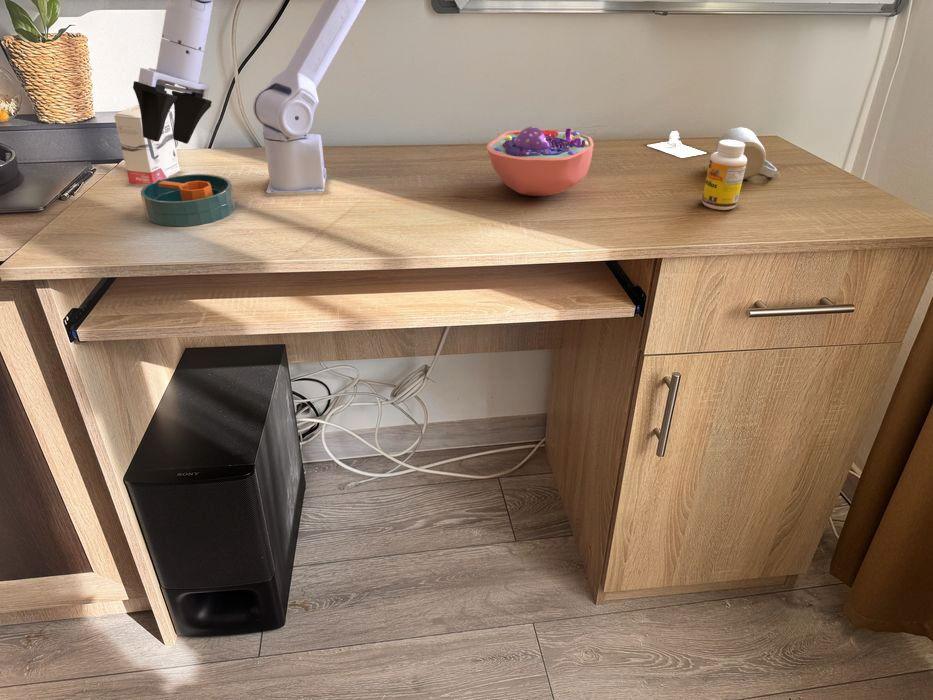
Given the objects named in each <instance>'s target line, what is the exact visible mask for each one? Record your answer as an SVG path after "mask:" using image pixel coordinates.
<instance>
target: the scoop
mask: <svg viewBox="0 0 933 700" xmlns="http://www.w3.org/2000/svg"><path fill="white" fill-rule="evenodd" d="M158 185H159V187H164V188H172V189H180V193H181V198H182V201H190V200H197V199H202V198H207V197H210V196H213V193H212V188H211V184H210V183H209V182H206V181H192V182H186V183H178V182H170V181H162V182H160V183H158Z"/></svg>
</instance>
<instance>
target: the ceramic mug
mask: <svg viewBox="0 0 933 700" xmlns="http://www.w3.org/2000/svg"><path fill="white" fill-rule="evenodd" d="M721 140H736V141H740V142H743V143H744V144H745V148H744V153H743V155H744V156H745V157H746V158H747V163H746V168H745V172H744V176H743V180H748V179H750V178H753V177H755V176H757V175H758V174H761V175H762V176H765V177H767V178H770V179H771V178H774V176H775V175H776V174H777V172H778V169H777V167H775V165H773V164H772V163H771V162H769V161H768V160H766V158H767V155H766V149H765V147H764V146H763V144H762V143H761V142H760V140H759V138H758V137H757V135H756V134H755V133H754V132H753V131H752V130H751V129H749V128H747V127H743V126H741V127H739V126H738V127H733V128H730V129H728V130H727V131H725V132H724V133H723V134H722V135H721V136H720V137H719V138H718V141H717V142H716V144H715V148H714V149H715V150H714V153H715V152H717V148H718V144H719V141H721Z"/></svg>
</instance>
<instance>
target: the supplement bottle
mask: <svg viewBox="0 0 933 700" xmlns="http://www.w3.org/2000/svg"><path fill="white" fill-rule="evenodd" d="M744 148H745V144H744V143H743V142H740V141H736V140H721V141H719V144H718V148H717V152H715V151H714V152H713V153H712V154H711V155H710V157H709V161H708V168H707V171H706V172H707V173H706V176H705V181H704V187H703V192H702V198H701V203H702V204H703V205H704V206H705V207H707V208H709V209H712V210H716V211H717V210H718V211H727V210H733V209H735V208H736V207H737V205H738V201H739V197H740V193H741V189H742V185H743V181H744V179H743V176H744V172H745V168H746V163H747V158H746V157H745V156H744V155H743V153H744Z"/></svg>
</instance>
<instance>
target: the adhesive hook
mask: <svg viewBox="0 0 933 700" xmlns="http://www.w3.org/2000/svg"><path fill="white" fill-rule="evenodd" d="M679 135H680V133H679V132H678V130H672V131H671V132H670V134H669V135H668V136H669V137H668V141H664V142H663V141H662V142H658V143H652V144H647V145H646V146H647V147H649V148H652V149H656V150H659V151H661V152H664V153H667V154H670V155H673V156H675V157H678V158H681V159H684V158H689V157H694V156H699V155H705V154H706V151H703V150H699V149H696V148H693V147H691V146H687V145H685V144H683V143H682V141H681V140H679V139H680V136H679Z"/></svg>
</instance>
